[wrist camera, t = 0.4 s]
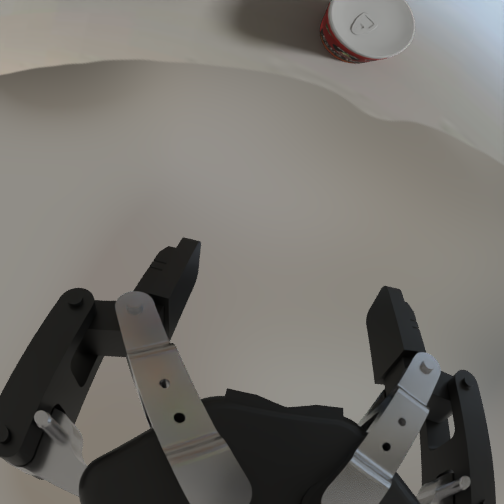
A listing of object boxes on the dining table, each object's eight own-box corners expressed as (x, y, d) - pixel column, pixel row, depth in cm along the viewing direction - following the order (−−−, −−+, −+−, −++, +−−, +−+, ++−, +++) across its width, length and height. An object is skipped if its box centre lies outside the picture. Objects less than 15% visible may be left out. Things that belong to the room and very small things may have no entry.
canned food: (307, 42, 28) (312, 27, 19) (339, -5, 24) (355, -35, 15) (363, 76, 29) (390, 76, 20) (393, 29, 25) (429, 15, 16)
